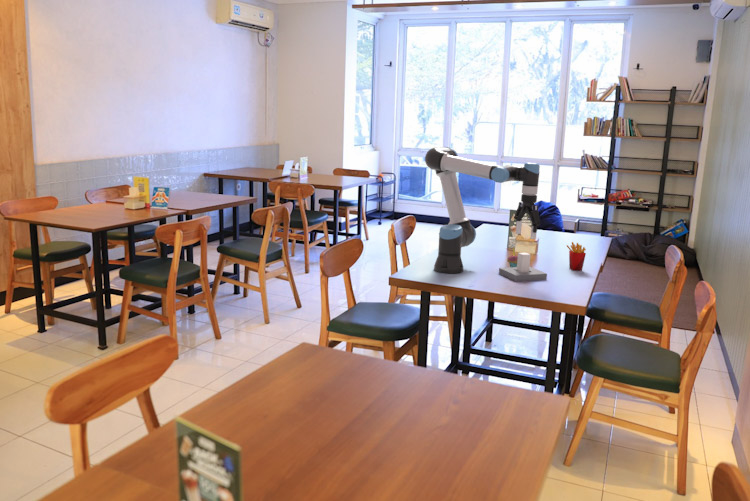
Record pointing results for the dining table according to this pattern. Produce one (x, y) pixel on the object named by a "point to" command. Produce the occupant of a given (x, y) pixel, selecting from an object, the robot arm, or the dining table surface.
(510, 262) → the cupcake
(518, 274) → the socket
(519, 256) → the plug
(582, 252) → the french fries
